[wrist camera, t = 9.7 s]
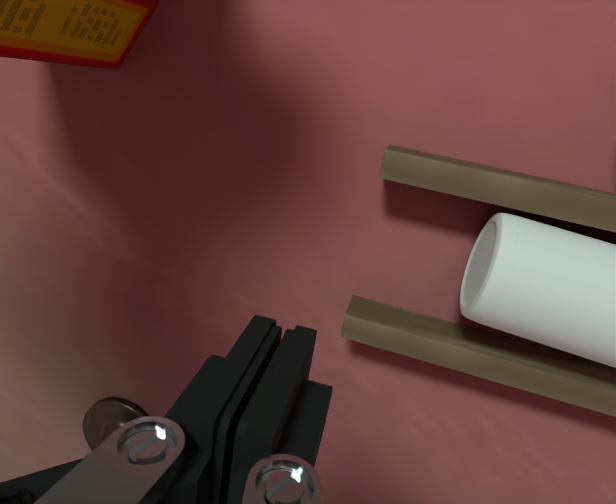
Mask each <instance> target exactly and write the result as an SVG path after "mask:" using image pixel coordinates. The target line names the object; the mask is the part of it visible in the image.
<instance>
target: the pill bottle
mask: <svg viewBox="0 0 616 504" xmlns="http://www.w3.org/2000/svg"><path fill="white" fill-rule="evenodd" d="M460 311H461V314H462V315H463V316H464V317H466V318H468V319H470V320H472V321H475V322H477V323H480V324H483V325H486V326H489V327H492V328H495V329H498V330H501V331H504V332H507V333H510V334H514V335H517V336H520V337H523V338H526V339H529V340H532V341H535V342H538V343H541V344H544V345H547V346H550V347H553V348H556V349H559V350H562V351H565V352H569V353H572V354H575V355H578V356H581V357H584V358H587V359H590V360H593V361H596V362H599V363H602V364H605V365H608V366H611V367H615V368H616V245H615V244H611V243H608V242H605V241H601V240H598V239H594V238H591V237H588V236H584V235H581V234H577V233H574V232H571V231H567V230H564V229H560V228H557V227H554V226H550V225H547V224H543V223H540V222H537V221H533V220H530V219H526V218H523V217H520V216H516V215H513V214H507V213H496V214H494V215H493V216H492V217H491V218H490V219H489V220H488V222H487V223H486V224H485V226H484V227H483V229H482V231H481V232H480V234H479V236H478V238H477V240H476V242H475V245H474V247H473V249H472V252H471V254H470V257H469V260H468V263H467V266H466V269H465V273H464V277H463V281H462V286H461V291H460Z"/></svg>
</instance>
